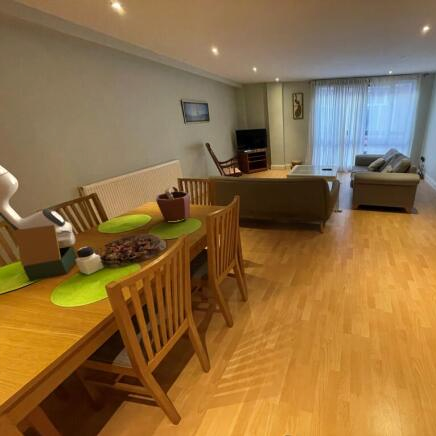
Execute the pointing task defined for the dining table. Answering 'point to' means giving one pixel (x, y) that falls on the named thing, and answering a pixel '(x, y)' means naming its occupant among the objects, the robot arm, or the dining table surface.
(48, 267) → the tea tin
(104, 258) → the food dish
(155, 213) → the dining table surface
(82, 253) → the medicine bottle
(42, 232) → the box lid
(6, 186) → the robot arm
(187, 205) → the bucket
